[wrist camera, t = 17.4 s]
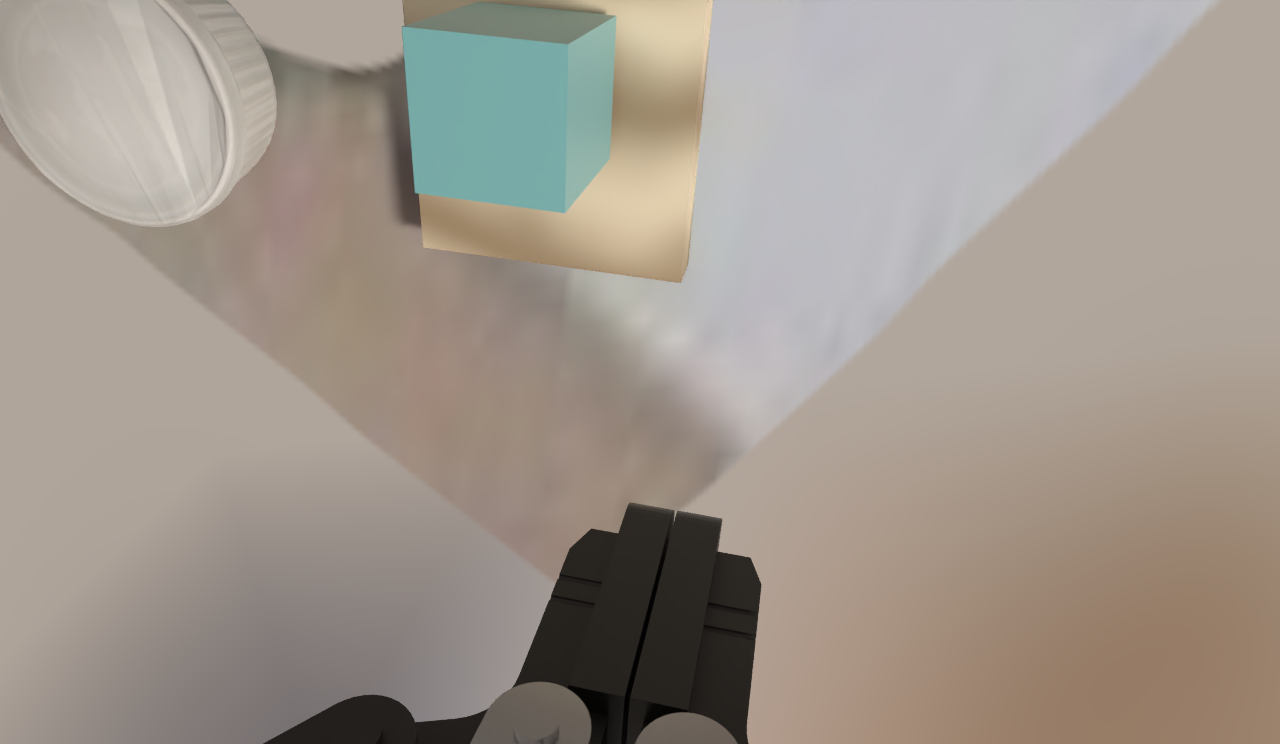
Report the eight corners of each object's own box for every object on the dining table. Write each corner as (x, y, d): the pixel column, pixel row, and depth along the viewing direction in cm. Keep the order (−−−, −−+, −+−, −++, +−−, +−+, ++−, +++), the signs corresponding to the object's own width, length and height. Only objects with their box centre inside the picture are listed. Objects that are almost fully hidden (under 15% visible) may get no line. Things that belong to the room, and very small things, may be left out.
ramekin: (348, 98, 37) (282, 127, 33) (219, 235, 42) (147, 276, 38) (151, -123, 34) (48, -124, 30) (38, 53, 39) (-64, 75, 35)
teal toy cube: (478, 1, 31) (401, 26, 26) (616, 15, 31) (568, 44, 25) (483, 142, 34) (415, 192, 29) (609, 158, 33) (564, 213, 28)
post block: (412, -166, 31) (287, -182, 24) (726, -146, 30) (692, -157, 22) (440, 231, 40) (353, 308, 32) (687, 265, 38) (653, 353, 31)
